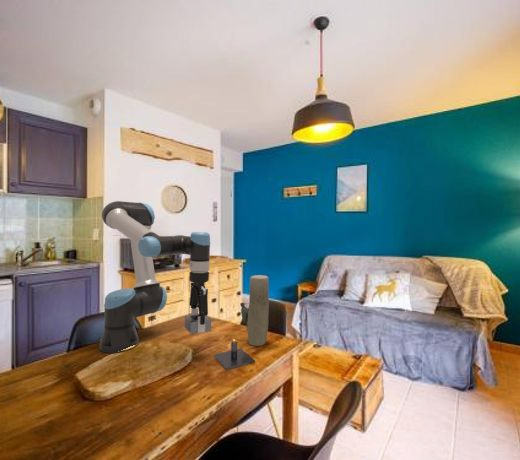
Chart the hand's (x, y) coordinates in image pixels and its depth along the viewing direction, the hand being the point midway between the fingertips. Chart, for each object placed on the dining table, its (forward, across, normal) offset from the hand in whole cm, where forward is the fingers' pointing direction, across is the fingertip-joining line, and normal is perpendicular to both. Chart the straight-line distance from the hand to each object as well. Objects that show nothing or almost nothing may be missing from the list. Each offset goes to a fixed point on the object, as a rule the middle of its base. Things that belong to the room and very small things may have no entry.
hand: (197, 328), depth 112 cm
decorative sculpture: (+12, -2, +27) cm, 30 cm away
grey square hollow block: (0, 0, 0) cm, 0 cm away
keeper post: (+11, +9, +12) cm, 19 cm away
